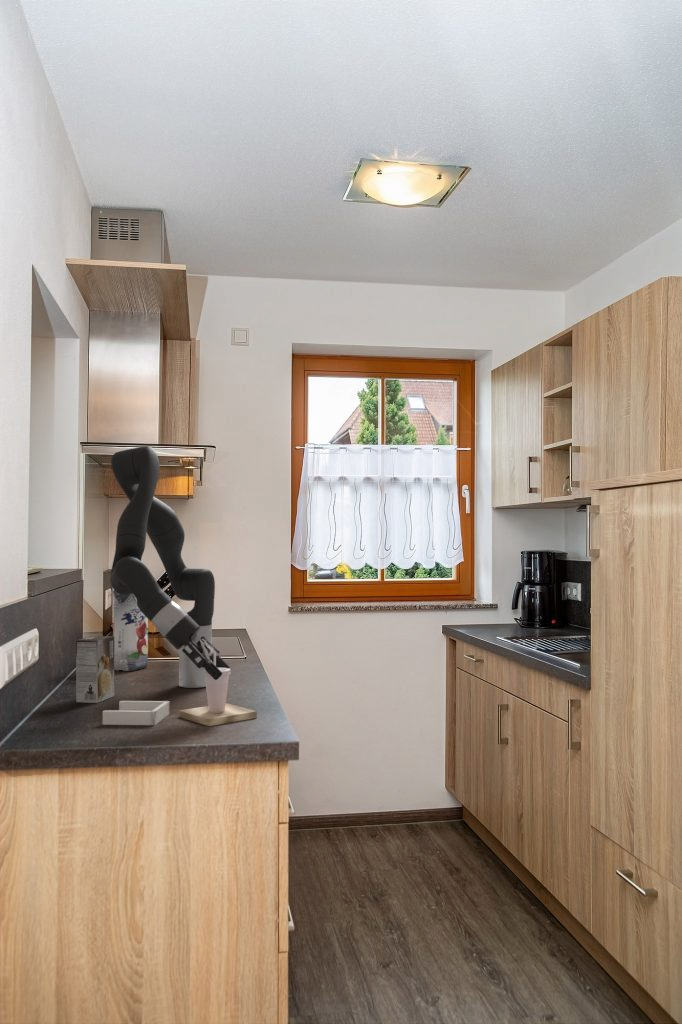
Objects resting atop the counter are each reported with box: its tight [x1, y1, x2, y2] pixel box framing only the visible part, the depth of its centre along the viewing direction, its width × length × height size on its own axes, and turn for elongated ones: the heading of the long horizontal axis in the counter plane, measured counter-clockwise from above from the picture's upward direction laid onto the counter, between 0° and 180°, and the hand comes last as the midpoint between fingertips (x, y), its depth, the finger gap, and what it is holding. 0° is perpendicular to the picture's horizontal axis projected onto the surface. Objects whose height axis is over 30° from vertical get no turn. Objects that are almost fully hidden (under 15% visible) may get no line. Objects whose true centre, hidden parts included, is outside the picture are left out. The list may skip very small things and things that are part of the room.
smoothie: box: [203, 651, 232, 713], centre depth 193 cm, size 6×6×14 cm
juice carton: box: [112, 589, 149, 672], centre depth 265 cm, size 9×10×27 cm
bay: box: [102, 700, 171, 726], centre depth 191 cm, size 12×12×3 cm
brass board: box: [178, 702, 258, 727], centre depth 193 cm, size 13×13×2 cm
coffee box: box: [75, 635, 115, 704], centre depth 215 cm, size 9×6×16 cm
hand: (223, 674), depth 193 cm, fingers open, 8 cm apart
